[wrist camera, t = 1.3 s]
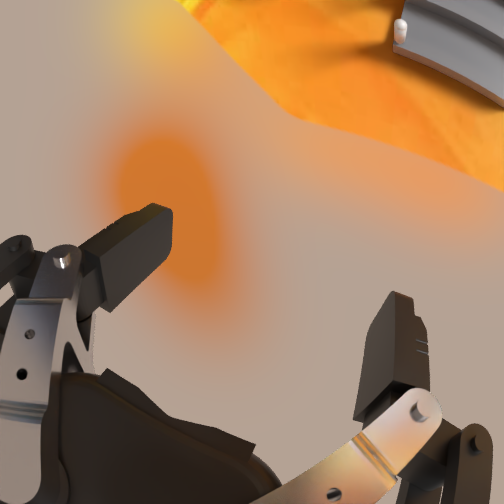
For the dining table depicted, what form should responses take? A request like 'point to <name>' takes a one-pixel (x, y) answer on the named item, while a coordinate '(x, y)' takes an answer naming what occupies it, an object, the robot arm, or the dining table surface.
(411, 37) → the dish rack
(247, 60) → the dining table surface
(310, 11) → the dining table surface
